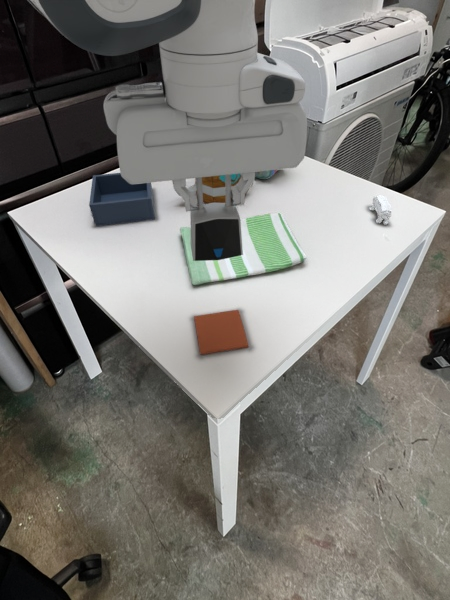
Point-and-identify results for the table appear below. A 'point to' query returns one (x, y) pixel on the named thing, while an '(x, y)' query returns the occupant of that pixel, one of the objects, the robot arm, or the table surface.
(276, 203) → the table surface
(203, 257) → the padlock
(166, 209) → the table surface
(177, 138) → the robot arm
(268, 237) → the dish towel
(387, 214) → the figurine
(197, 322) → the mat
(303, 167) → the table surface
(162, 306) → the table surface
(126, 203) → the basket
